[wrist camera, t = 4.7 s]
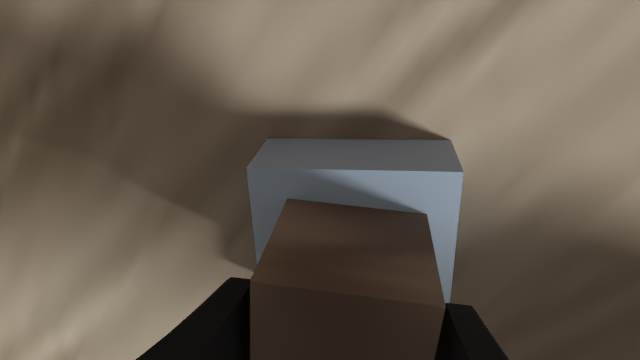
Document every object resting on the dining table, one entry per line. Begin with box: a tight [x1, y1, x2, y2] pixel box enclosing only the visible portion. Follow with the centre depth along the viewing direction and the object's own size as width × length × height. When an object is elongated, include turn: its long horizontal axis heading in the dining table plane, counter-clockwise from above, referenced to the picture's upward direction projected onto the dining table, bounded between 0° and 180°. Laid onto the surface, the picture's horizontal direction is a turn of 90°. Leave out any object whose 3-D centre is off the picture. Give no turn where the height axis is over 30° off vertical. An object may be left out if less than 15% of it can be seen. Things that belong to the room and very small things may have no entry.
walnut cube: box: [250, 198, 446, 360], centre depth 12 cm, size 4×4×4 cm
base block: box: [246, 138, 464, 303], centre depth 15 cm, size 6×6×3 cm
